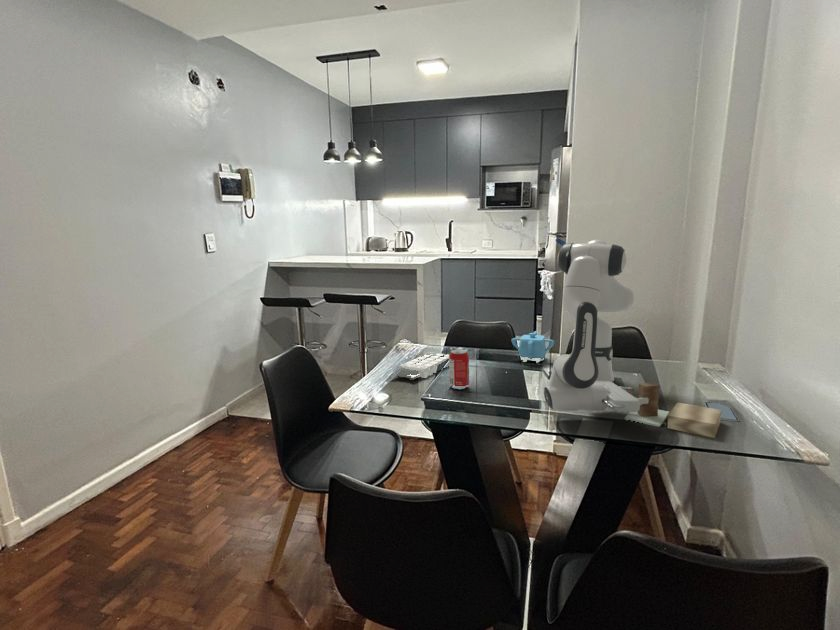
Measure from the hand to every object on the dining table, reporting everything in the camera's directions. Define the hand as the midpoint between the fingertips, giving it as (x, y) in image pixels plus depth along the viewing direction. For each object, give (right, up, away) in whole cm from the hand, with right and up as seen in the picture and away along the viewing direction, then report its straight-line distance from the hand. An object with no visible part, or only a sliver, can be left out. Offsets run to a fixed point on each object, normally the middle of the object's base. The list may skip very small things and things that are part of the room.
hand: (639, 395), depth 144 cm
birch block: (+13, -8, -7) cm, 17 cm away
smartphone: (+28, -7, +3) cm, 29 cm away
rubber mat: (+3, -7, +1) cm, 8 cm away
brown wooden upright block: (+3, -6, +1) cm, 7 cm away
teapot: (-15, +4, +76) cm, 78 cm away
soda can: (-54, -4, +35) cm, 65 cm away
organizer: (-68, -1, +60) cm, 91 cm away
